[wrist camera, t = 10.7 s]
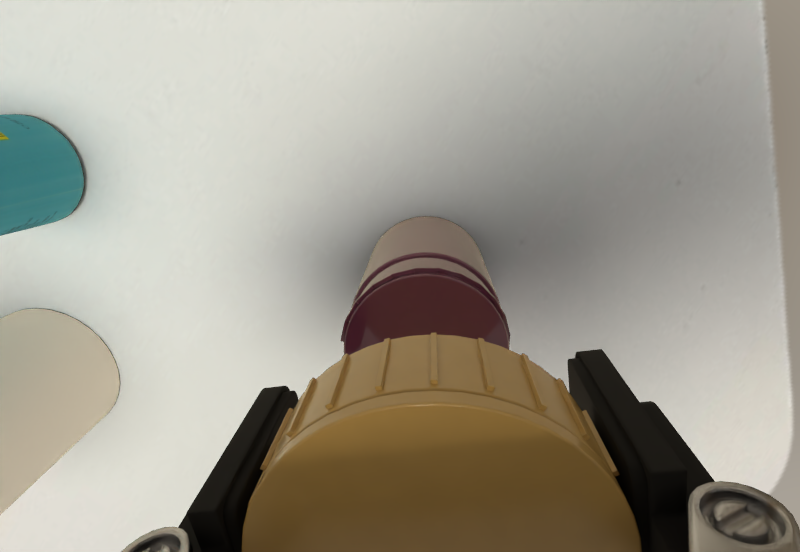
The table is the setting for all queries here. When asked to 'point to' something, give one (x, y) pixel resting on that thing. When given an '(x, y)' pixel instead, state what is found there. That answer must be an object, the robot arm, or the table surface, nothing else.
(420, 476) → the jar lid
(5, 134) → the tube
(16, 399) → the cylindrical container
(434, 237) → the cream jar
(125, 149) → the table surface
